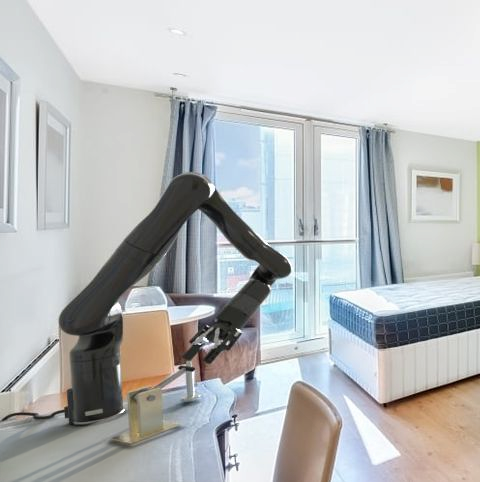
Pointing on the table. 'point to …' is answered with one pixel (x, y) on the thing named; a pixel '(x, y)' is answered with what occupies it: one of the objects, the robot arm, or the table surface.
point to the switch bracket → (144, 416)
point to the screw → (189, 387)
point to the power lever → (171, 378)
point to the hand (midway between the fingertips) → (195, 361)
